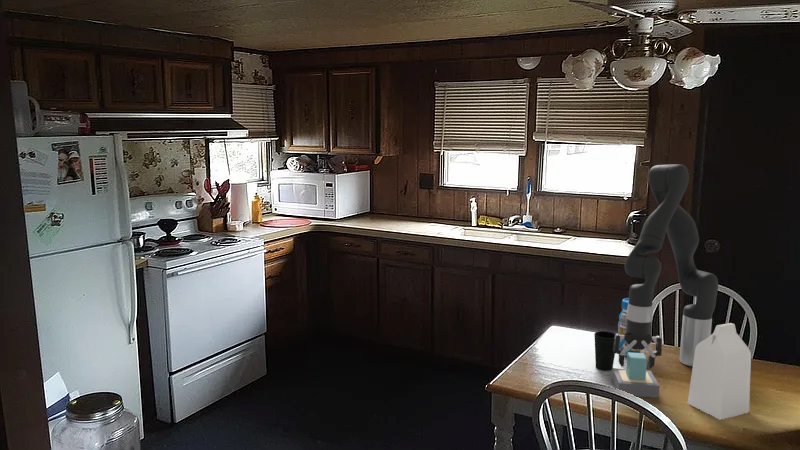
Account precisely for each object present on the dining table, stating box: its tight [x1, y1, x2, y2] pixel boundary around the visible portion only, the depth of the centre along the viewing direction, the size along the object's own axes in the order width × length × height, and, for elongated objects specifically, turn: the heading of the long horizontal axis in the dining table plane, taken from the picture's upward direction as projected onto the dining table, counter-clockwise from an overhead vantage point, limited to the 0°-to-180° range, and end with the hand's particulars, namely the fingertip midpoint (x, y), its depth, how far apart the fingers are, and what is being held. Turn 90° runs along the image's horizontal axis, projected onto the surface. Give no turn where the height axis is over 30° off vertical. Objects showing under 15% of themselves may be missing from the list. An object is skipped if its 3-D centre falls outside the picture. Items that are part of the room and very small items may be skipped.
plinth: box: [611, 367, 660, 399], centre depth 202 cm, size 12×12×4 cm
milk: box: [687, 322, 752, 421], centre depth 187 cm, size 12×12×26 cm
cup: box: [594, 330, 616, 372], centre depth 218 cm, size 8×8×12 cm
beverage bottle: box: [617, 297, 641, 357], centre depth 231 cm, size 8×8×20 cm
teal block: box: [625, 352, 648, 380], centre depth 201 cm, size 5×5×7 cm
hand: (635, 366), depth 201 cm, fingers open, 8 cm apart
